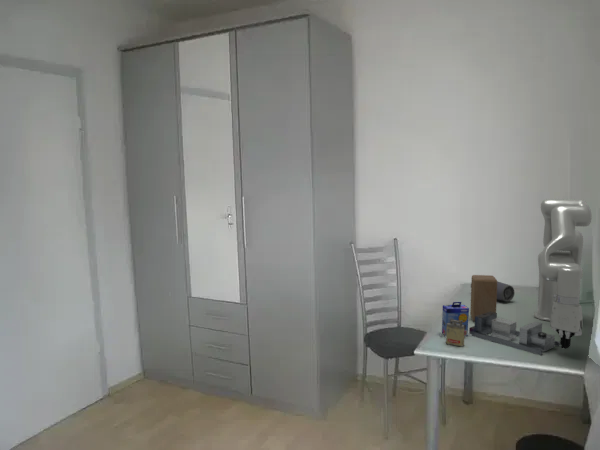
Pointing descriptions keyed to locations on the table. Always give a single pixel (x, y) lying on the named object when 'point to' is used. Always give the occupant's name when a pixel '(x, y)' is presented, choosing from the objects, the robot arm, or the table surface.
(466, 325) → the ink cartridge box
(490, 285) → the block
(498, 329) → the steel block
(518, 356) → the table surface
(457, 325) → the lighter
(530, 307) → the table surface
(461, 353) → the table surface
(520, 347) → the frame
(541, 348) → the sliding jaw
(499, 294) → the bluetooth speaker
